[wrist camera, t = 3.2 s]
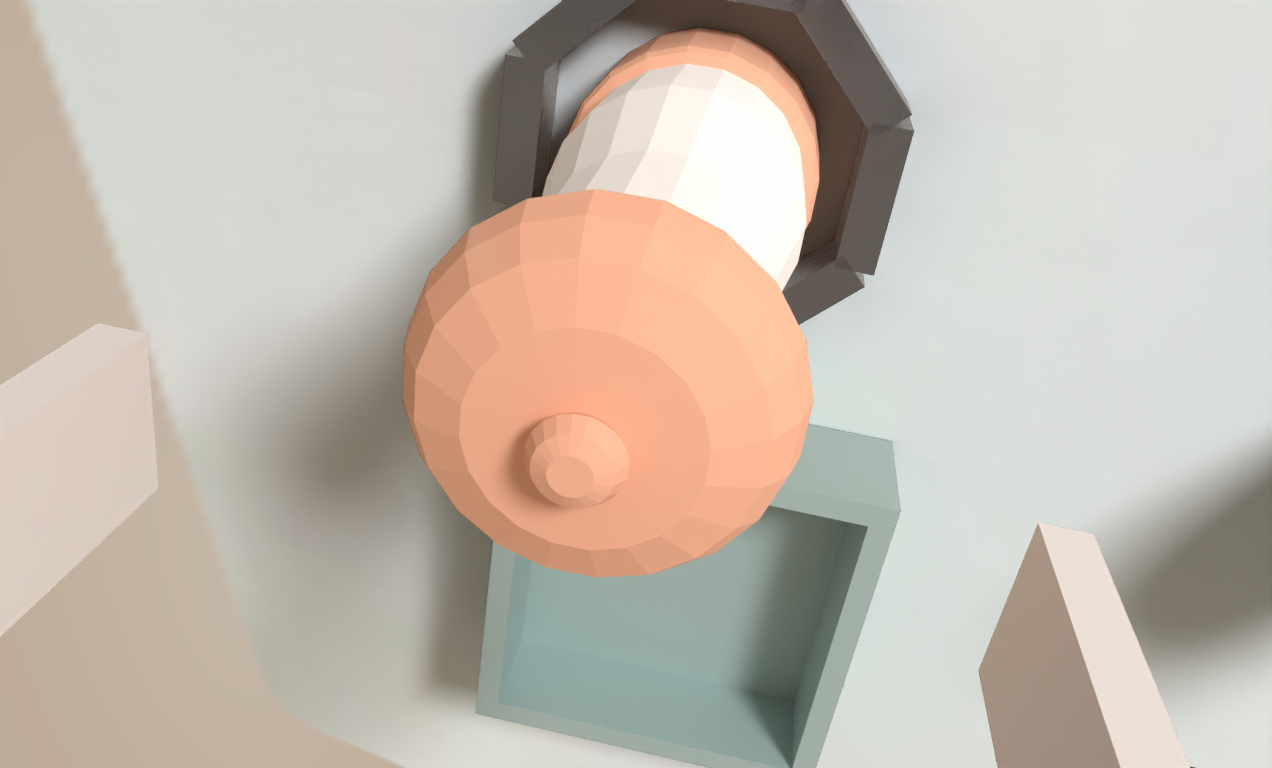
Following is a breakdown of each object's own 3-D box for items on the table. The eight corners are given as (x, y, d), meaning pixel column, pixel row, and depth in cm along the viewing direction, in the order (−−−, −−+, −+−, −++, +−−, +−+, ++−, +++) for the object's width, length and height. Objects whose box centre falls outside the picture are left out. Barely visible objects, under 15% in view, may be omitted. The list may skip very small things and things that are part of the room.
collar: (500, 286, 35) (483, 309, 34) (535, -89, 30) (517, -85, 28) (842, 355, 34) (843, 382, 33) (944, -17, 29) (952, -8, 27)
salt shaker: (869, 124, 31) (929, 449, 14) (724, 302, 34) (634, 735, 17) (672, -26, 30) (484, 132, 13) (542, 173, 33) (260, 501, 16)
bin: (505, 636, 42) (475, 713, 39) (537, 367, 36) (504, 427, 33) (809, 705, 42) (808, 790, 38) (892, 441, 36) (900, 511, 32)
